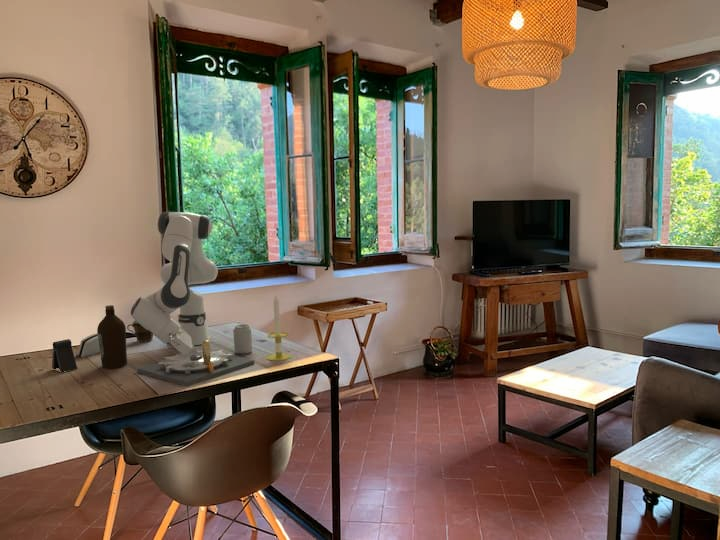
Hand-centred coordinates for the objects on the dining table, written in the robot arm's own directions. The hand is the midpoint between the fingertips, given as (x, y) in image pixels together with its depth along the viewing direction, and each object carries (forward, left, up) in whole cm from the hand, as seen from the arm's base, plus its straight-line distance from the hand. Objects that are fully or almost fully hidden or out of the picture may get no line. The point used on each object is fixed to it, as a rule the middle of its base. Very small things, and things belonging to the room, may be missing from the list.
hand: (198, 354), depth 208 cm
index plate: (-9, +5, -8) cm, 13 cm away
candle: (+9, +33, -8) cm, 35 cm away
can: (-11, +31, -8) cm, 34 cm away
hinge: (-70, -4, -8) cm, 71 cm away
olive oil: (-42, -11, -8) cm, 44 cm away
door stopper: (-55, -25, -8) cm, 61 cm away
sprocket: (-9, +5, -6) cm, 12 cm away
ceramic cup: (-71, +19, -8) cm, 74 cm away
